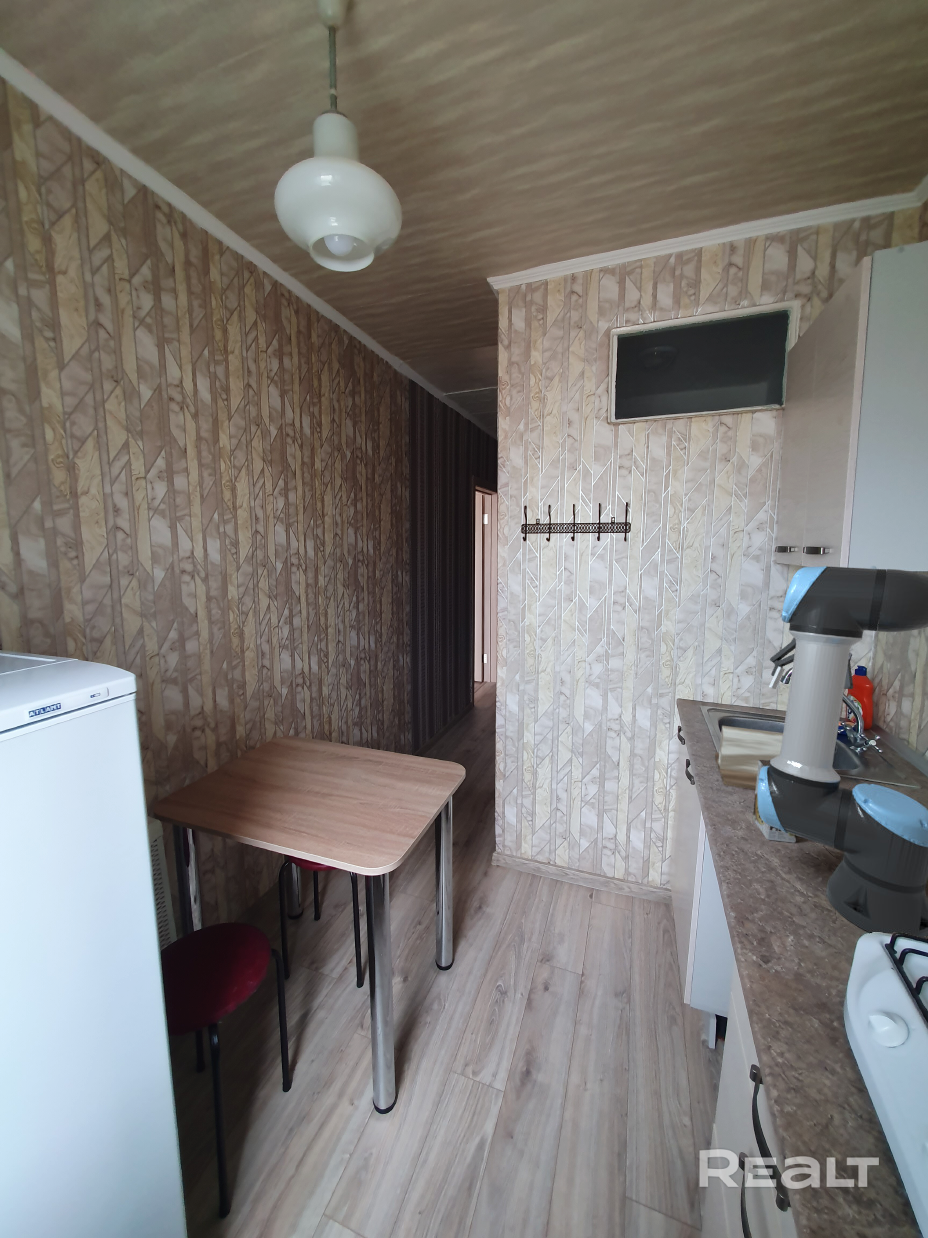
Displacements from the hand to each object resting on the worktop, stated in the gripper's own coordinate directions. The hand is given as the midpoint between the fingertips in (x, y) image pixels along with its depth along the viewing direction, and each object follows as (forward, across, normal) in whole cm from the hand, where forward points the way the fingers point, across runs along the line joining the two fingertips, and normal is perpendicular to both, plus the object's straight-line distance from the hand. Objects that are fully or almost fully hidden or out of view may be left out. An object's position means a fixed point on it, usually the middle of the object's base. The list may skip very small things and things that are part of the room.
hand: (796, 698), depth 133 cm
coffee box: (+32, -14, +18) cm, 39 cm away
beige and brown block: (+25, 0, -6) cm, 25 cm away
